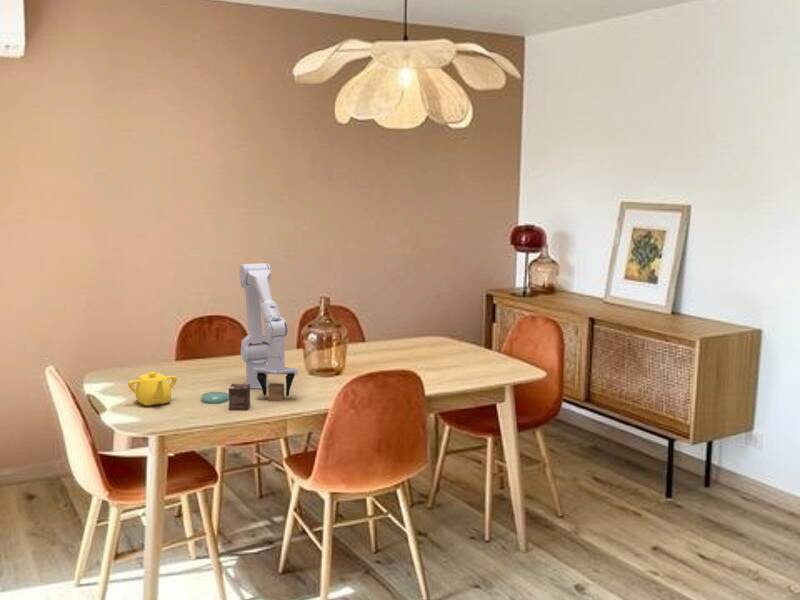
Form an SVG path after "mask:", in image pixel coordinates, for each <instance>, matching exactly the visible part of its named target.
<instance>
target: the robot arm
mask: <svg viewBox="0 0 800 600" xmlns="http://www.w3.org/2000/svg"><path fill="white" fill-rule="evenodd" d="M238 274H239V284H240V287H241V288H242V289H244V294H245V305H246V307H245V308H246V316H247V319H246V321H247V333H248V334H247V335H246V336H245V337H244V338H242V340H241V342H240V345H241V346H240V357H241V360H242V361H243V362H245V384H250V389H255V390H256V389H257V390H258V389H261V390H262V395H263V396H264V397H265V396H267V393H268V392H267V391H268V386H269V385H270V384H271V381H270V380H268V375H286V376H285V384H286V385H285V387H286V388H285V389H286V390H285V396H286V397H289V396H290V391H291V386H292V383H293V381H294V379H295V376H298V374H299V368H298V367H297V368H296V367H295V368H294V367H286V365H285V361H286V358H285V354H286V353H285V351H286V349H285V348H286V347H285V341H286V339H285V337H287V335H288V328H289V327H288V324H287V321H286V319H285V318H284V317H282V316H281V312H280V308H279V306H278V304H277V302H276V301H274V300H273V297H272V291H271V287H270V282H271V277H272V267H271V266H270V264H269V263H268V262H263V263H261V262H259V263H242V264H241V266H240V268H239V273H238ZM261 303H262V304H261ZM262 318H263V321H264V328H263V325H262ZM263 329H264V334H263Z"/></svg>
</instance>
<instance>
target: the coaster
mask: <svg viewBox="0 0 800 600" xmlns="http://www.w3.org/2000/svg"><path fill="white" fill-rule="evenodd" d="M200 396H201V397H200V398H201V402H202V404H207V405H220V404H225V403H227V402H229V392H224V391H210V392H206V393H205V392H204V393H203V394H201V395H200Z"/></svg>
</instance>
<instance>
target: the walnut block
mask: <svg viewBox="0 0 800 600" xmlns="http://www.w3.org/2000/svg"><path fill="white" fill-rule="evenodd" d="M267 391H268V392H267V393H268V395H267V396H268V398H267V399H268V402H282V401H283V400H284V399H285V383H280V382H279V383H275V382H270V383H269V385H268V386H267ZM283 398H284V399H283Z"/></svg>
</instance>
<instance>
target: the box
mask: <svg viewBox="0 0 800 600" xmlns="http://www.w3.org/2000/svg"><path fill="white" fill-rule="evenodd" d="M228 394H229V401H228V408H229V410H230V411H241V410H242V411H243V410H245V411H248V410H249V408H250V406H251V388H250V384H246V383H231V384H230V386H229V388H228Z"/></svg>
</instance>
